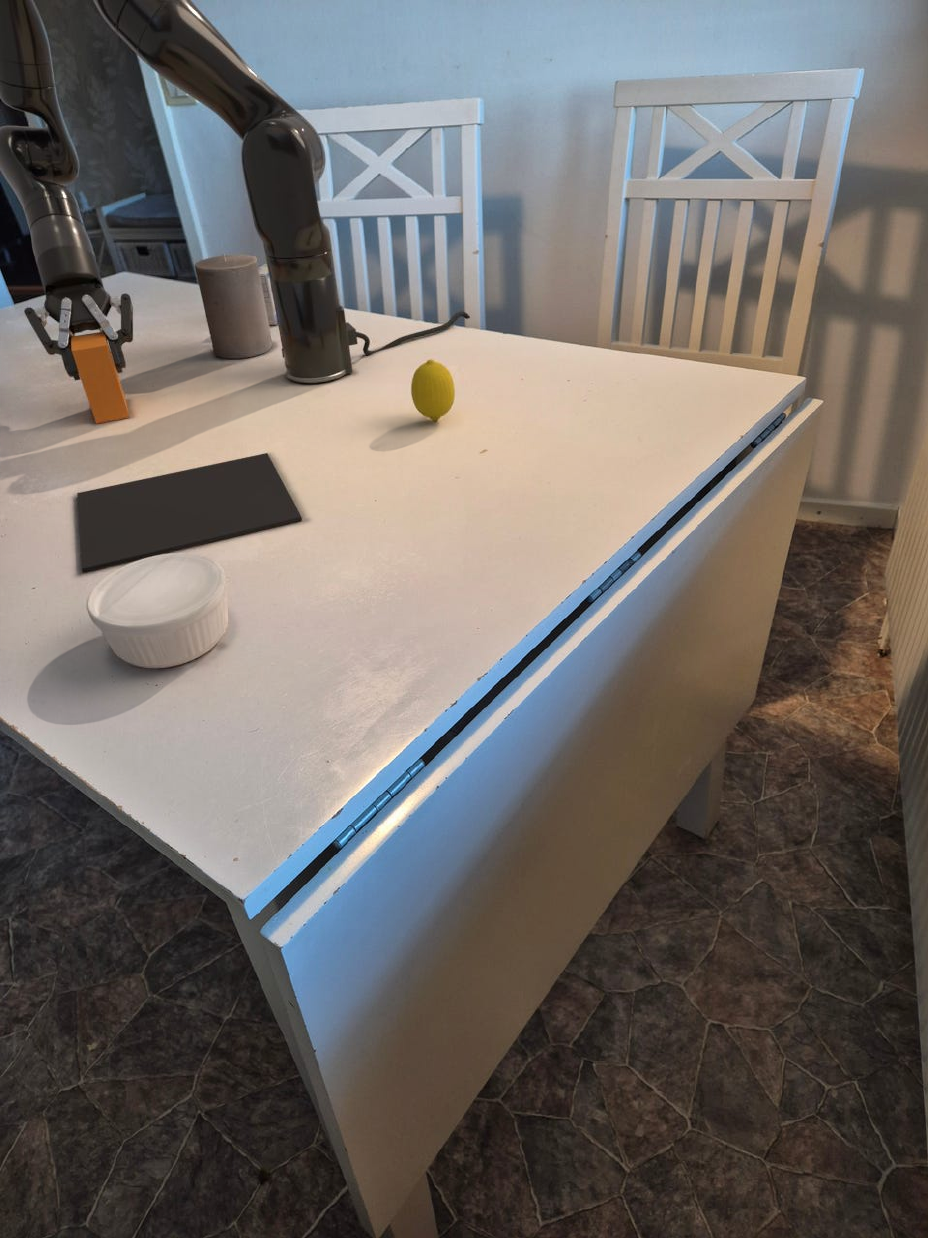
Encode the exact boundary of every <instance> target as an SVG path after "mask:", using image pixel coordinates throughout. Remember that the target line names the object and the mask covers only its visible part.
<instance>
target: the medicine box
mask: <svg viewBox="0 0 928 1238" xmlns="http://www.w3.org/2000/svg"><path fill="white" fill-rule="evenodd" d="M258 268H259V274H260V279H261V285H262V290H263V295H264V300H265V306H266V311H267V316H268V322H269V326H278V321H277V316H276V310H275V305H274V300H273V294H272V289H271V283H270V277H269V273H268V267H267V263H264V264H263V263H262V264H261V265H258Z"/></svg>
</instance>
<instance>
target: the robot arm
mask: <svg viewBox="0 0 928 1238" xmlns="http://www.w3.org/2000/svg"><path fill="white" fill-rule="evenodd" d="M92 1H93V3H94V4H95V6H96V8H97V10H98V11H99V13H100V15H101V16H102V18H103V19H104V21H105V22H106V23H107V24H108V25H109V27H110V28H111V29H112V30H113V31H114V33H116V34H117V35H118V37H120V39H121V40H122V41H123V42H124V43H125V44H126V45H127V46H128V47H129V48H130V49H131V50H132V52H134V53H135V54H136V55H137V56H138V57H139V58H140V59H141V60H142V61H143V62H144V63H145V64H146V65H147V66H149V68H151V69H152V70H153V71H154V72H155V73H157V74H158V75H159V76H161V77H162V78H163V79H165V80H166V81H167V82H169V83H170V84H172V85H173V86H174V87H176V88H177V89H179V90H181V91H182V92H183V93H185V94H187V95H188V96H189V97H191V98H193V99H194V100H196V101H197V102H199V103H200V104H202V105H203V106H205V107H206V108H208V109H209V110H210V111H212V112H213V113H214V114H216V116H218V117H219V118H220V119H221V120H223V122H225V124H226V125H228V127H229V128H231V130H232V131H233V132H234V133H235V134H236V135H237V136H238V137H239V138H240V140H241V141H242V143H241V149H240V151H241V152H240V158H241V168H242V174H243V180H244V184H245V189H246V193H247V197H248V202H249V208H250V212H251V217H252V220H253V224H254V227H255V231H256V233H257V235H258V236H259V238H260V240H261V242H262V245H263V251H264V254H265V255H264V256H265V260H266V264H267V267H268V273H269V277H270V283H271V289H272V294H273V300H274V305H275V310H276V316H277V321H278V324H277V326H278V331H279V336H280V343H281V353H282V359H284V365H285V371H286V372H285V374H286V377H287V379H288V380H289V381H292V382H296V383H300V384H319V383H325V382H330V381H334V380H337V379H340V378H342V377H344V376H346V375H349V374H353V373H354V372H353V366H352V365H353V364H352V358H351V350H350V349H351V348H350V346H355V345H358V344H359V343H358V339H361V340H363V341H364V345H363V347H362V352H363V354H364V355H367V356H373V354H376V353H378V352H381V351H384V350H388V349H391V348H394V347H396V346H397V345H399V344H401V343H404V342H407V341H409V340H414V339H417V338H421V337H424V336H428V335H432V334H435V333H438V332H441V331H444V330H446V329H448V328H450V327H451V326H452V325H454V324H455V322H456V321H458V319H459V318H461V317H463V318H464V319H466V320H468V319H469V320H470V319H471V316H470V315H469V314H468V313H467V312H466V311H460V310H459V311H458V312H456V313H454V315H453V316H452V317H451V318H450V319H449V320H448V321H447V322H445V323H444V324H441V325H438V326H434V327H432V328H429V329H425V330H421V331H417V332H413V333H410V334H406V335H403V336H401V337H398V338H396V339H394V340H392V341H390V342H389V343H387V344H385V345H384V346H382V347H380V348H378V349H375V350H369V349H370V344H371V340H370V338H369V336H368V335H366V334H365V333H362V332H359V331H357V330H356V328H355V327H353V325H351V323H349V322H347V321H346V313H345V308H344V307H343V306H342V305H341V304H340V298H339V297H340V296H339V291H338V283H337V278H336V270H335V268H336V267H335V262H334V255H333V247H332V240H331V232H330V229H329V227H328V226H327V225H326V223H324V221H323V219H322V216H321V212H320V206H319V202H318V196H317V189H316V184H318V182H319V181H320V180H321V178H322V177H323V174H324V172H325V168H326V162H327V160H326V159H327V158H326V151H325V147H324V143H323V141H322V139H321V137H320V135H319V133H318V131H317V130H316V128H315V127H314V126H313V124H311V122H309V121H308V120H307V119H306V118H305V117H304V116H303V115H302V114H301V113H300V112H298V111H297V110H296V108H294V107H293V106H291V104H289V103H288V102H287V101H286V100H285V99H284V98H283V97H281V96H280V95H279V94H278V93H277V92H276V91H275V90H274V89H273V88H271V86H269V85H268V84H267V82H265V81H263V80H262V78H261V77H260V76H259V75H258V74H257V73H256V72H255V71H254V70H252V68H251V67H250V66H249V64H247V62H245V61H244V59H243V58H242V57H241V56H240V54H239V53H238V52H237V51H236V50H235V48H234V47H233V45H231V43H230V42H229V41H228V40H227V39H226V38H225V36H223V35H222V33H221V32H220V31H219V30H218V29H217V27H216V26H215V25H214V24H213V23H212V22H211V21H210V19H208V17H206V15H204V13H203V12H202V10H200V9H199V7H198V6H196V4H195V3H194V2H193V1H192V0H92ZM46 30H47V29H46V27H45V25H44V22H43V19H42V17H41V14H40V12H39V10H38V8H37V5H36V4H35V2H34V0H0V100H1V102H2V103H4V104H5V105H6V106H8V107H10V108H11V109H14V110H16V111H17V110H18V111H19V112H24V113H26V114H30V115H33V116H36V117H38V118H40V119H41V120H42V121H43V122H44V124H45V126H43V127H42V126H24V125H23V126H20V125H3V126H0V172H1V174H2V175H3V177H4V179H5V180H6V181H7V183H8V184H9V186H10V188H11V189H12V190H13V193H14V194H15V195H16V197H17V199H18V200H19V203H20V205H21V206H22V209H23V212H24V215H25V219H26V223H27V225H28V229H29V233H30V238H31V239H30V240H31V247H32V252H33V255H34V259H35V263H36V267H37V270H38V275H39V277H40V281H41V284H42V287H43V291H44V295H45V299H44V304H43V306H41V307H38V308H36V309H34V308H32V307H26V308H25V309H24V310H23V312H24V315H25V317H26V318H27V319H26V320H27V321H28V322H29V324H30V326H31V328H32V330H33V331H34V333H35V335H36V336H37V338H38V340H39V341H40V343H41V345H42V346H43V349H44V350H45V351H46V353H47V354H48V355H49V356H55V355H60V356H61V360H62V363H63V367H64V370H65V372H66V374H67V375H68V377H69V378H73V379H74V381H81V378H80V375H79V372H78V369H77V366H76V363H75V360H74V357H73V354H72V350H71V338H73V336H76V334H80V333H83V332H85V331H98V332H102V333H105V336H106V339H107V342H108V345H109V348H110V351H111V354H112V358H113V361H114V364H115V367H116V370H117V374H122V373H123V372H124V371H123V369H125V368H126V366H127V363H126V359H125V356H124V352H123V348H122V347H123V345H124V344H125V343H131V342H133V341H134V306H133V302H132V298H131V296H130V294H128V293H122V294H121V295H120V296H113V295H112V296H111V295H110V294H109V292H107V291H106V289H105V287H104V282H103V279H102V275H101V272H100V269H99V266H98V262H97V257H96V253H95V252H94V249H93V245H92V242H91V240H90V237H89V235H88V233H87V230H86V228H85V227H86V226H85V224H84V221H83V217H82V213H81V210H80V206H79V203H78V200H77V198H76V196H75V194H74V193H73V192H72V191H71V190H70V189H69V188H68V187H66V186H68V185H69V186H70V185H72V184H73V183H74V182H75V181H76V180H77V179H78V176H79V174H80V165H81V164H80V160H79V155H78V153H77V150H76V146H75V144H74V142H73V140H72V137H71V135H70V133H69V130H68V128H67V126H66V123H65V120H64V117H63V114H62V109H61V108H60V103H59V99H58V95H57V88H56V84H55V83H56V82H55V75H54V68H53V59H52V54H51V53H52V51H51V47H50V42H49V38H48V33H47V31H46ZM112 307H114V308H115V309H116V313H118V314H119V315H120V329H118V330H115V328H114V327H113V326H112V325H111V323H110V321H109V319H107V317H108V315H109V313H110V311H111V309H112ZM48 317H50V318H51V319H52V320H54V321H55V322H56V323H58V339H57V340H55V339H52V338H51V336H50V334H49V333H48V331H47V330H46V328H45V327H46V326H47V324H48V321H47V318H48Z"/></svg>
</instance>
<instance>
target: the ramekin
mask: <svg viewBox="0 0 928 1238" xmlns="http://www.w3.org/2000/svg"><path fill="white" fill-rule="evenodd" d="M227 590H228V579H227V575H226V572H225V570H224V568H223V566H222V565H221V564H220V563H219V562H218V561H216V560H214V559H213V558H211V557H209V556H204V555H201V554H197V553H189V552H169V553H164V554H160V555H155V556H151V557H147V558H143V559H139V560H134V561H132V562H130V563H128V564H126V565H124V566H122V567H120V568H118V569H116V570H114V571H112V572H111V573H109V574H108V575H106V576H105V577H103V579H101V580H100V581H99V582H98V583H96V585H95V586H94V587H93V588H92V590H91V591H90V592H89V594H88V596H87V600H86V610H87V611H86V612H87V613H88V614H87V615H88V616H89V618H90V620H91V622H92V623H93V624H94V625H95V626H96V627H97V628H98V629H99V631H100V632H101V634H102V635H103V637H104V638H105V640H106V641H107V643H108V644H109V647H110V648H111V649H112V651H113V652H114V653H115V655H116V656H117V657H118V658H119V659H122V661H124V662H126V663H128V664H130V665H133V666H136V667H139V668H144V669H165V668H166V669H167V668H170V667H171V668H172V667H176V666H180V665H183V664H186V663H189V662H191V661H193V660H195V659H198V658H199V657H201V656H203V655H204V654H207V653H208V652H209V651H211V650H212V649H213V648H214V647H215V646H216V645H217V644H218V643H219V642H220V641H221V639H222V637H223V636H224V635H225V632H226V631H227V628H228V624H229V609H228V598H227Z"/></svg>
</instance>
